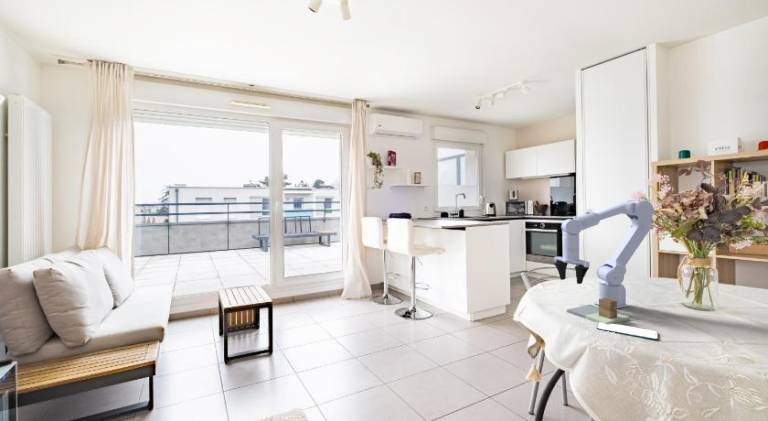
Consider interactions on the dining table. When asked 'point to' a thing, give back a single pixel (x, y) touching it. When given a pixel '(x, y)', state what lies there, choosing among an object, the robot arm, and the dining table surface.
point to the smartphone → (629, 331)
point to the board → (595, 314)
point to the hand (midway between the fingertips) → (571, 281)
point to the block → (608, 308)
